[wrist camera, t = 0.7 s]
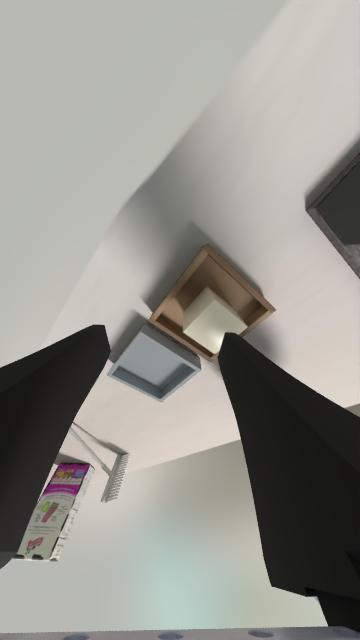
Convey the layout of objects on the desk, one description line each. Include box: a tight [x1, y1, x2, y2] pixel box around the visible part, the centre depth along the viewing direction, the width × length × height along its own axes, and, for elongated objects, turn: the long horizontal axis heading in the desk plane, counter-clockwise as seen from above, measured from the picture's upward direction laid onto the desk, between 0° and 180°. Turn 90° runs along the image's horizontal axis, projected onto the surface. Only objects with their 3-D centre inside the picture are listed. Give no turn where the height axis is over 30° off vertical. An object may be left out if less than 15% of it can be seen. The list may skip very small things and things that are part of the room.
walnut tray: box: [149, 244, 276, 362], centre depth 18 cm, size 11×11×2 cm
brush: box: [69, 427, 129, 503], centre depth 34 cm, size 4×28×9 cm, turn 25°
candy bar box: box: [12, 463, 95, 561], centre depth 41 cm, size 11×5×16 cm, turn 94°
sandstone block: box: [183, 286, 248, 354], centre depth 16 cm, size 4×4×5 cm
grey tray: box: [107, 323, 201, 402], centre depth 22 cm, size 11×11×2 cm
